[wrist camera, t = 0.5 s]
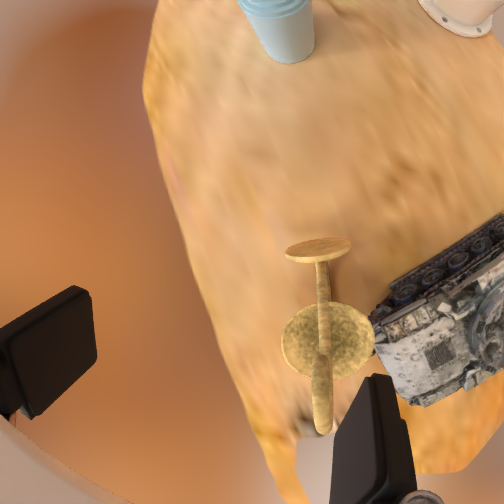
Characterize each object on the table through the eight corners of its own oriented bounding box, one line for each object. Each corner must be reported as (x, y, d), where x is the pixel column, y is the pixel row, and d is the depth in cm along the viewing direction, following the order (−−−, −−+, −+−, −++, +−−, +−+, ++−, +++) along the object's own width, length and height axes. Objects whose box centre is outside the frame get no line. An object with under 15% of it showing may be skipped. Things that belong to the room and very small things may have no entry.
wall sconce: (280, 237, 38) (215, 351, 15) (356, 226, 36) (411, 332, 12) (296, 335, 42) (263, 492, 18) (365, 327, 39) (389, 486, 16)
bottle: (279, 14, 30) (242, -81, 12) (324, 34, 30) (321, -62, 12) (253, 50, 33) (196, -31, 14) (299, 72, 32) (276, -9, 14)
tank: (547, 284, 31) (599, 325, 17) (393, 384, 41) (408, 457, 27) (525, 192, 29) (593, 210, 15) (349, 304, 39) (360, 373, 25)
